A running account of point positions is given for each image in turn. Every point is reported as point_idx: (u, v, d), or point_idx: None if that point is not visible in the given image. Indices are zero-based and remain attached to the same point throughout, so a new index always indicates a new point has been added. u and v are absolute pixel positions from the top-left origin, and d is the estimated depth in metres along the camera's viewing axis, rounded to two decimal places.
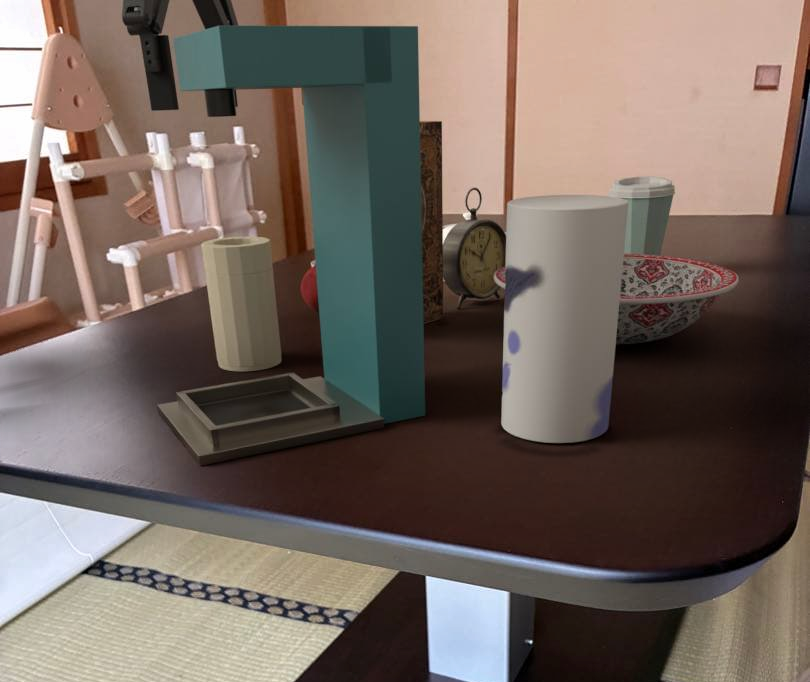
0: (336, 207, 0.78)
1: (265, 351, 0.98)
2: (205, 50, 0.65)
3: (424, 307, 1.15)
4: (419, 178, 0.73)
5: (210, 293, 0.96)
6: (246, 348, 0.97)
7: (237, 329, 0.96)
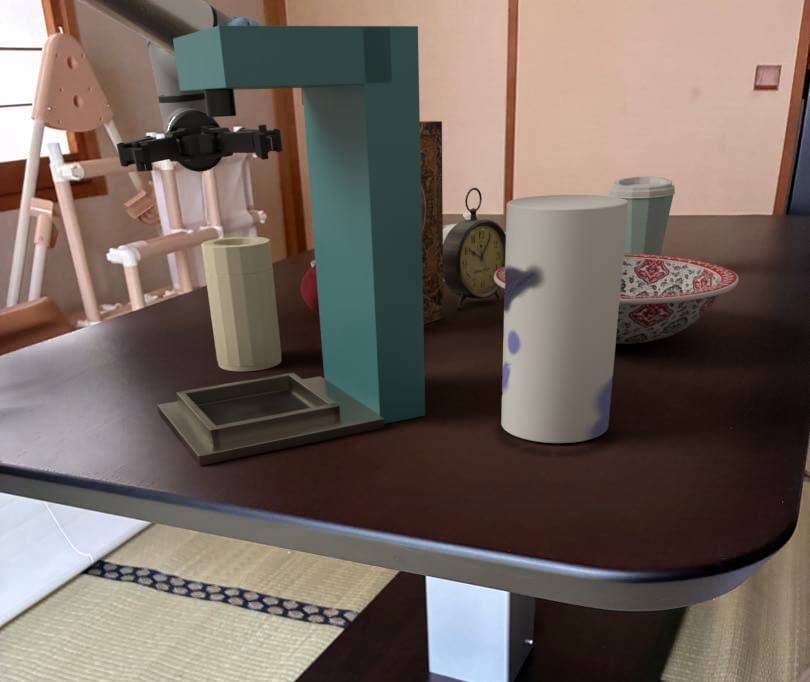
0: (336, 207, 0.78)
1: (265, 351, 0.98)
2: (205, 50, 0.65)
3: (424, 307, 1.15)
4: (419, 178, 0.73)
5: (210, 293, 0.96)
6: (246, 348, 0.97)
7: (237, 329, 0.96)
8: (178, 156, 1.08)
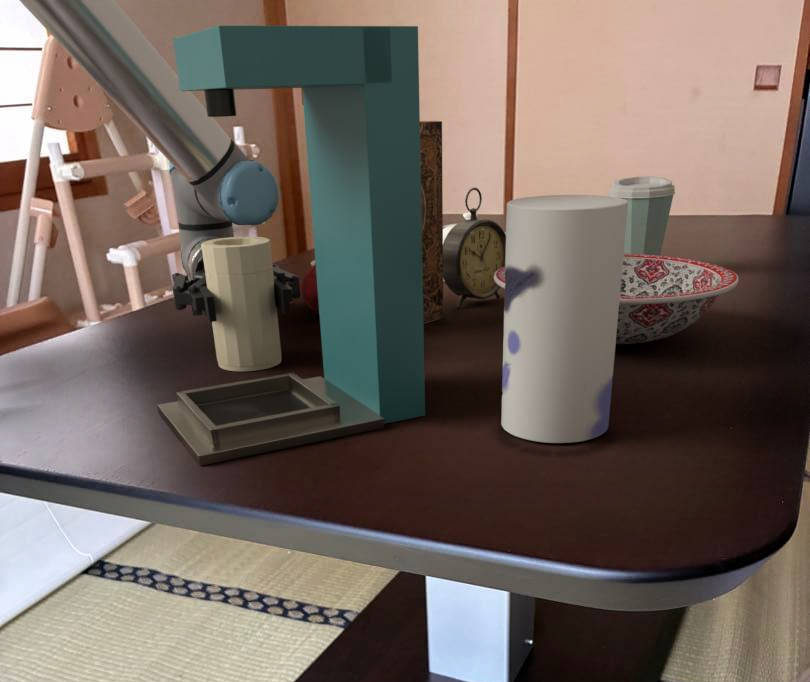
0: (336, 207, 0.78)
1: (265, 351, 0.98)
2: (205, 50, 0.65)
3: (424, 307, 1.15)
4: (419, 178, 0.73)
5: None
6: (246, 348, 0.97)
7: (237, 329, 0.96)
8: None
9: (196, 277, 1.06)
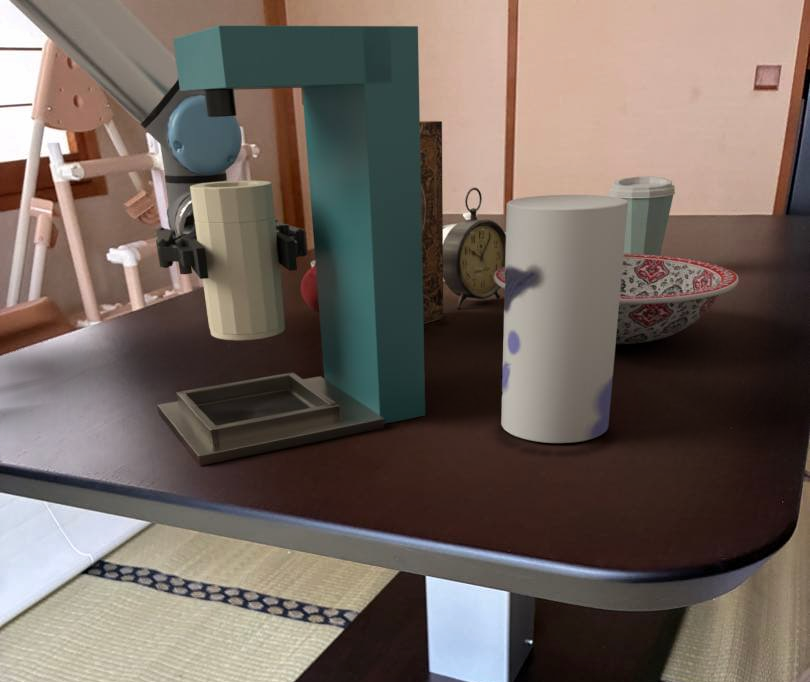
0: (336, 207, 0.78)
1: (266, 317, 0.83)
2: (205, 50, 0.65)
3: (424, 307, 1.15)
4: (419, 178, 0.73)
5: None
6: (244, 312, 0.82)
7: (233, 289, 0.81)
8: None
9: (184, 233, 0.91)
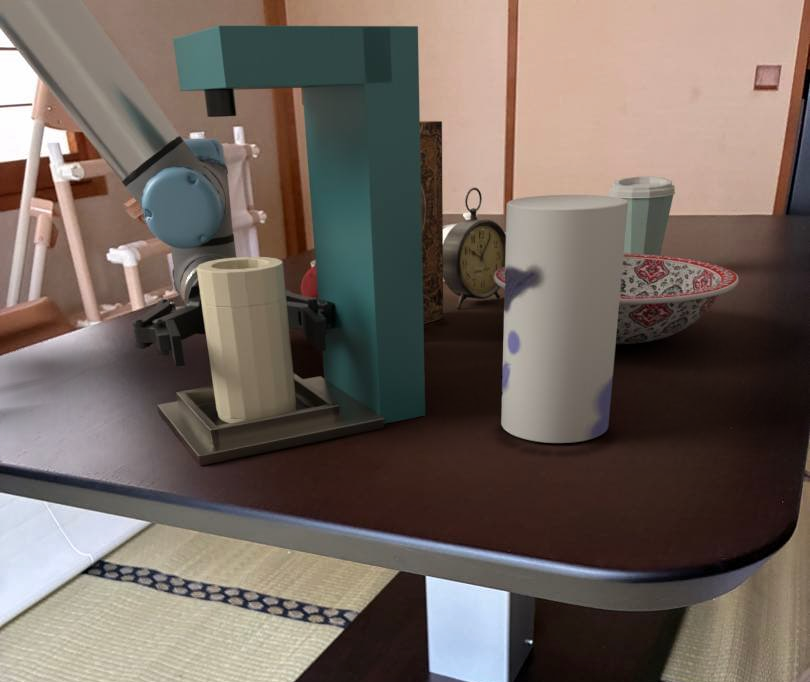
0: (336, 207, 0.78)
1: (277, 401, 0.79)
2: (205, 50, 0.65)
3: (424, 307, 1.15)
4: (419, 178, 0.73)
5: (208, 329, 0.76)
6: (253, 397, 0.77)
7: (242, 374, 0.76)
8: None
9: (186, 306, 0.87)
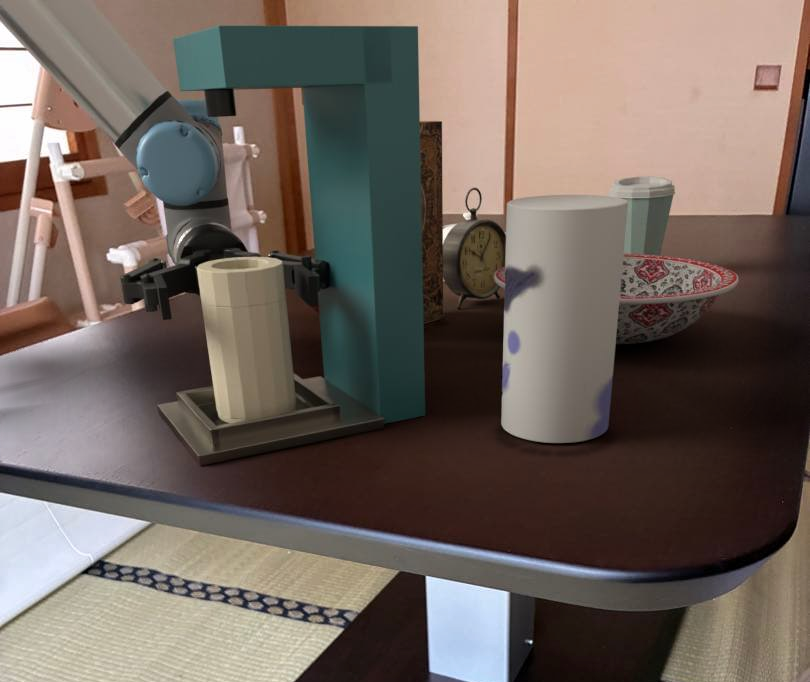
0: (336, 207, 0.78)
1: (277, 401, 0.79)
2: (205, 50, 0.65)
3: (424, 307, 1.15)
4: (419, 178, 0.73)
5: (208, 329, 0.76)
6: (253, 397, 0.77)
7: (242, 374, 0.76)
8: (195, 287, 0.84)
9: (178, 265, 0.85)
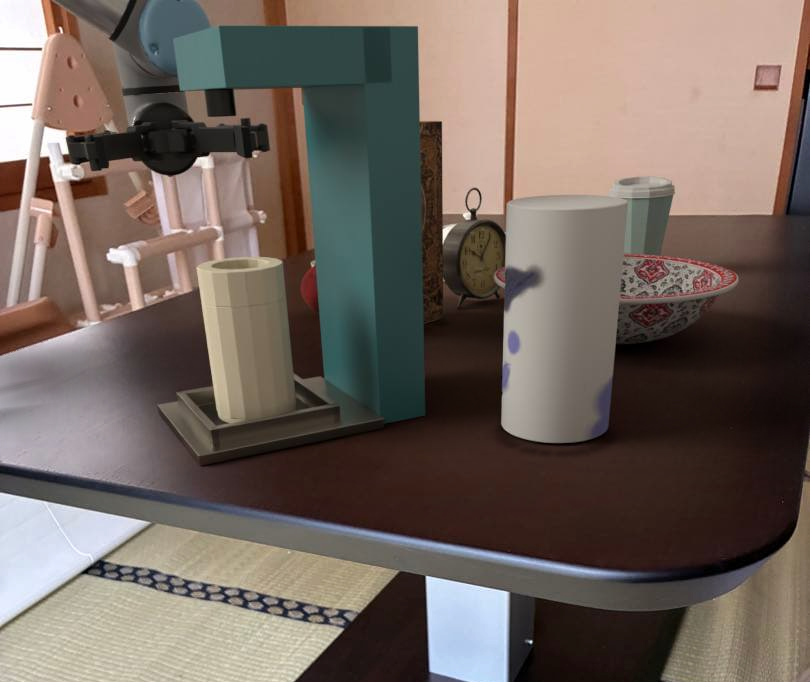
0: (336, 207, 0.78)
1: (277, 401, 0.79)
2: (205, 50, 0.65)
3: (424, 307, 1.15)
4: (419, 178, 0.73)
5: (208, 329, 0.76)
6: (253, 397, 0.77)
7: (242, 374, 0.76)
8: (143, 155, 0.90)
9: None
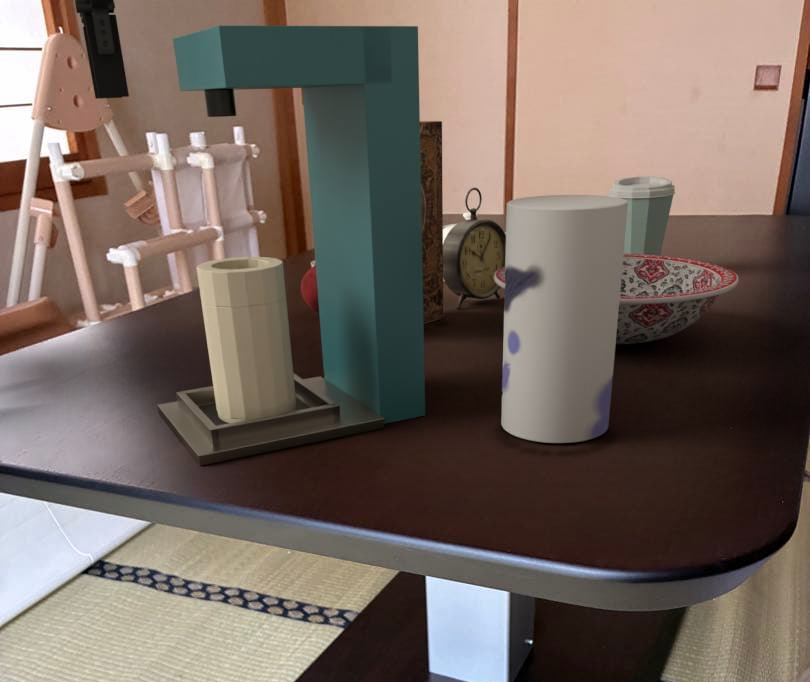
0: (336, 207, 0.78)
1: (277, 401, 0.79)
2: (205, 50, 0.65)
3: (424, 307, 1.15)
4: (419, 178, 0.73)
5: (208, 329, 0.76)
6: (253, 397, 0.77)
7: (242, 374, 0.76)
8: None
9: None
